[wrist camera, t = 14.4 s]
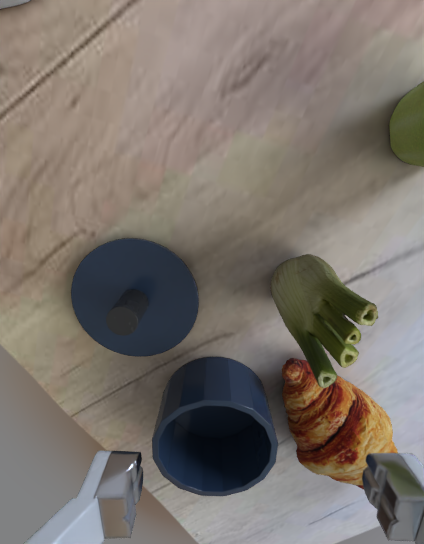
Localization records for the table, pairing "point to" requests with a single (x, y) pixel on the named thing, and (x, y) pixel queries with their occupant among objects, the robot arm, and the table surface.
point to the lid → (135, 297)
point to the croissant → (333, 424)
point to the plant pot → (409, 127)
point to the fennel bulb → (320, 313)
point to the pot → (214, 428)
